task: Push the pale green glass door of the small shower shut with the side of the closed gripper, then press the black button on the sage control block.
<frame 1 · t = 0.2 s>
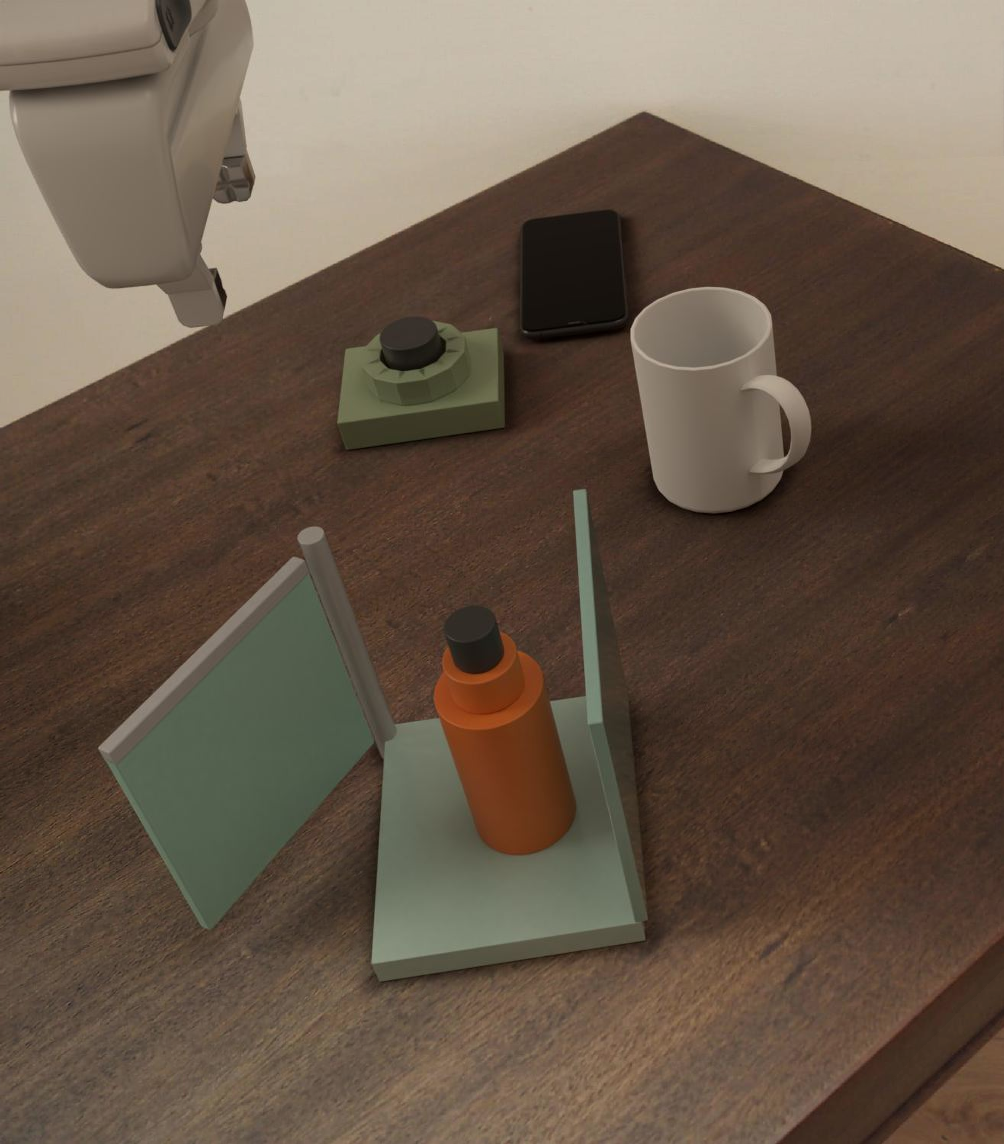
hand: (222, 252, 67), 25 cm above the table, tool pointing down, fingers open, 8 cm apart
shower door: (242, 740, 70), point 8 cm above the table, hinge at 35.0°
smartphone: (573, 279, 110), on the table
control block: (427, 401, 101), on the table
mug: (742, 490, 92), on the table
shampoo bottle: (526, 814, 74), point 1 cm above the table, touching shower
shower: (511, 836, 75), on the table
button: (411, 343, 98), point 4 cm above the table, slide at 0.1 cm
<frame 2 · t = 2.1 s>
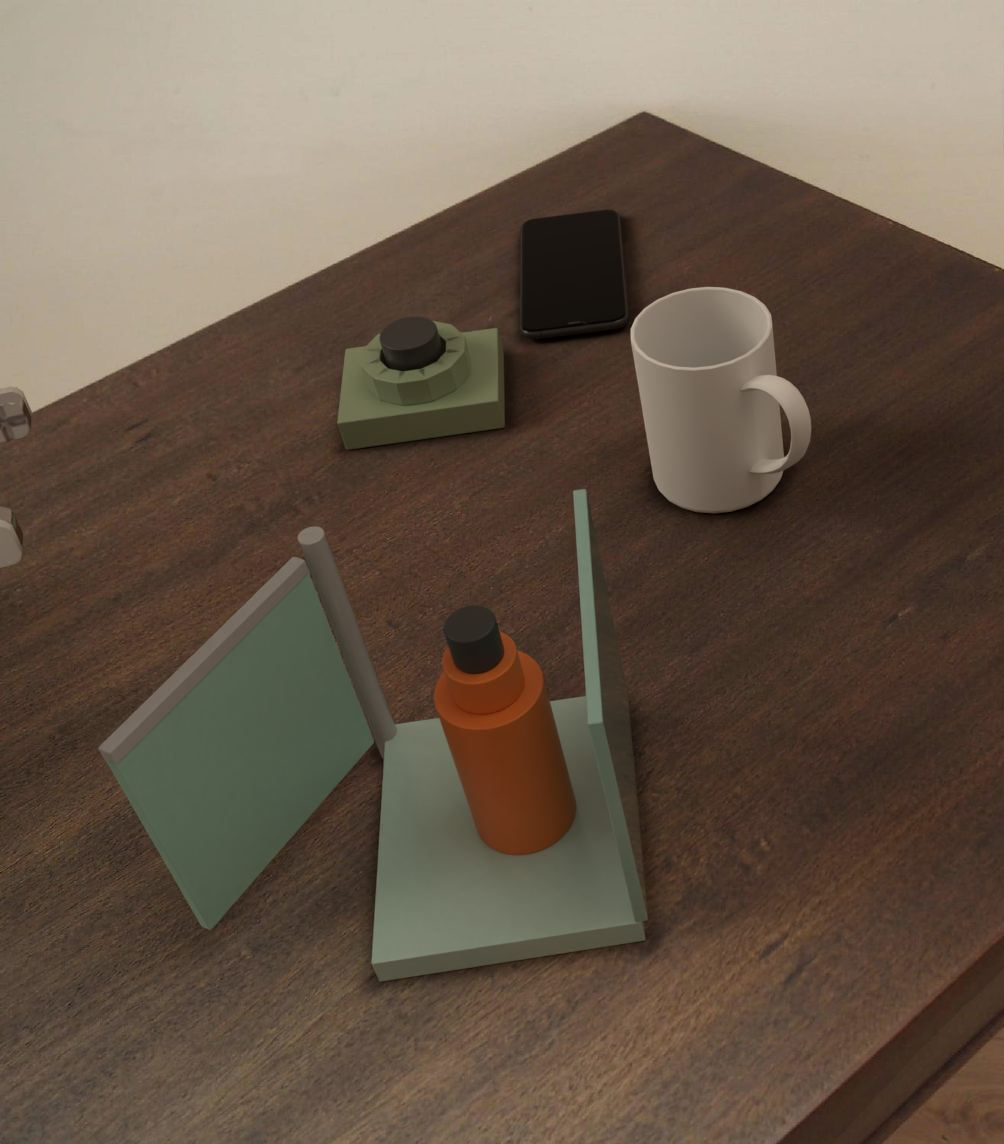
hand: (22, 467, 62), 22 cm above the table, tool horizontal, fingers open, 8 cm apart
nothing on the table moved.
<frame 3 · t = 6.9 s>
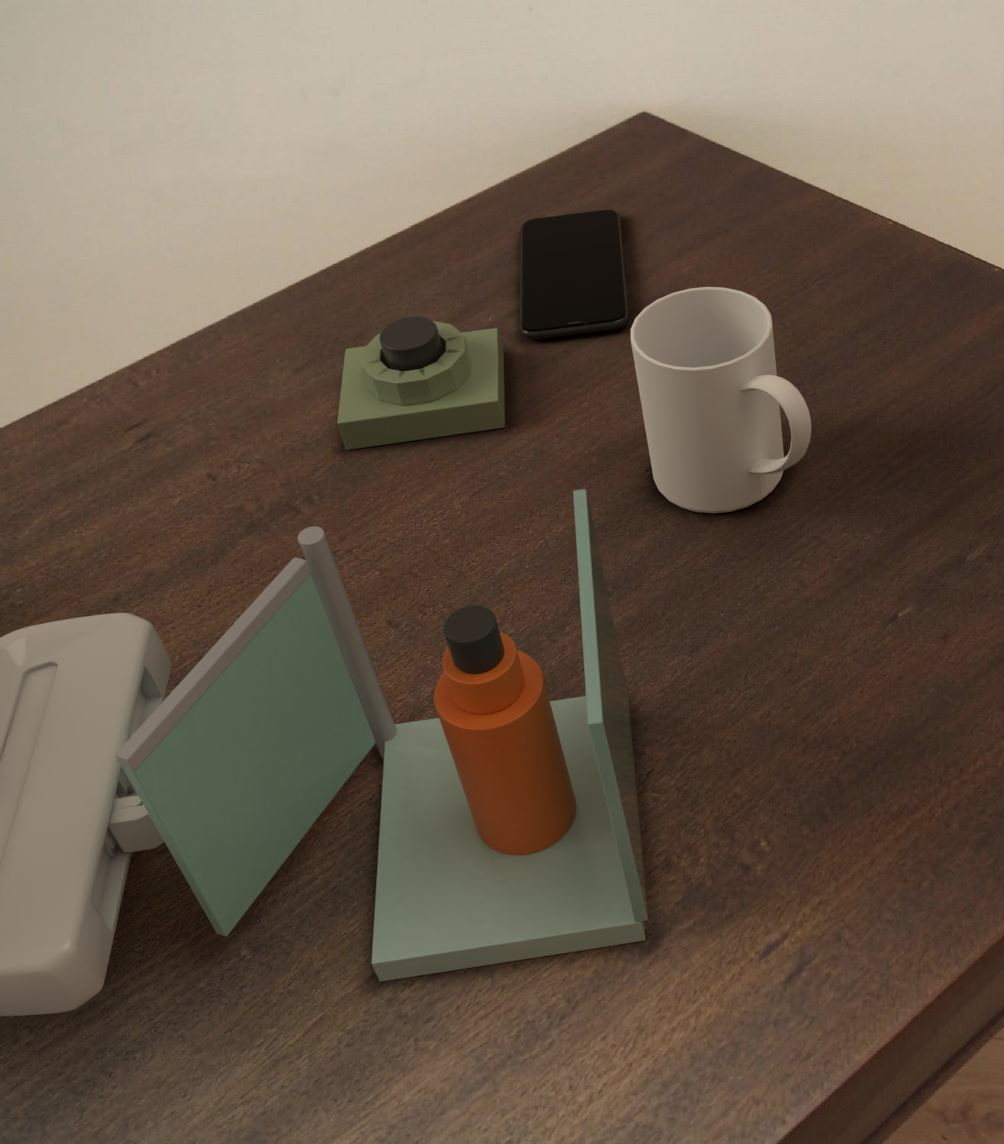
hand: (233, 776, 70), 7 cm above the table, tool horizontal, fingers closed
shower door: (250, 744, 70), point 8 cm above the table, hinge at 30.9°, touching gripper
everything else where it was.
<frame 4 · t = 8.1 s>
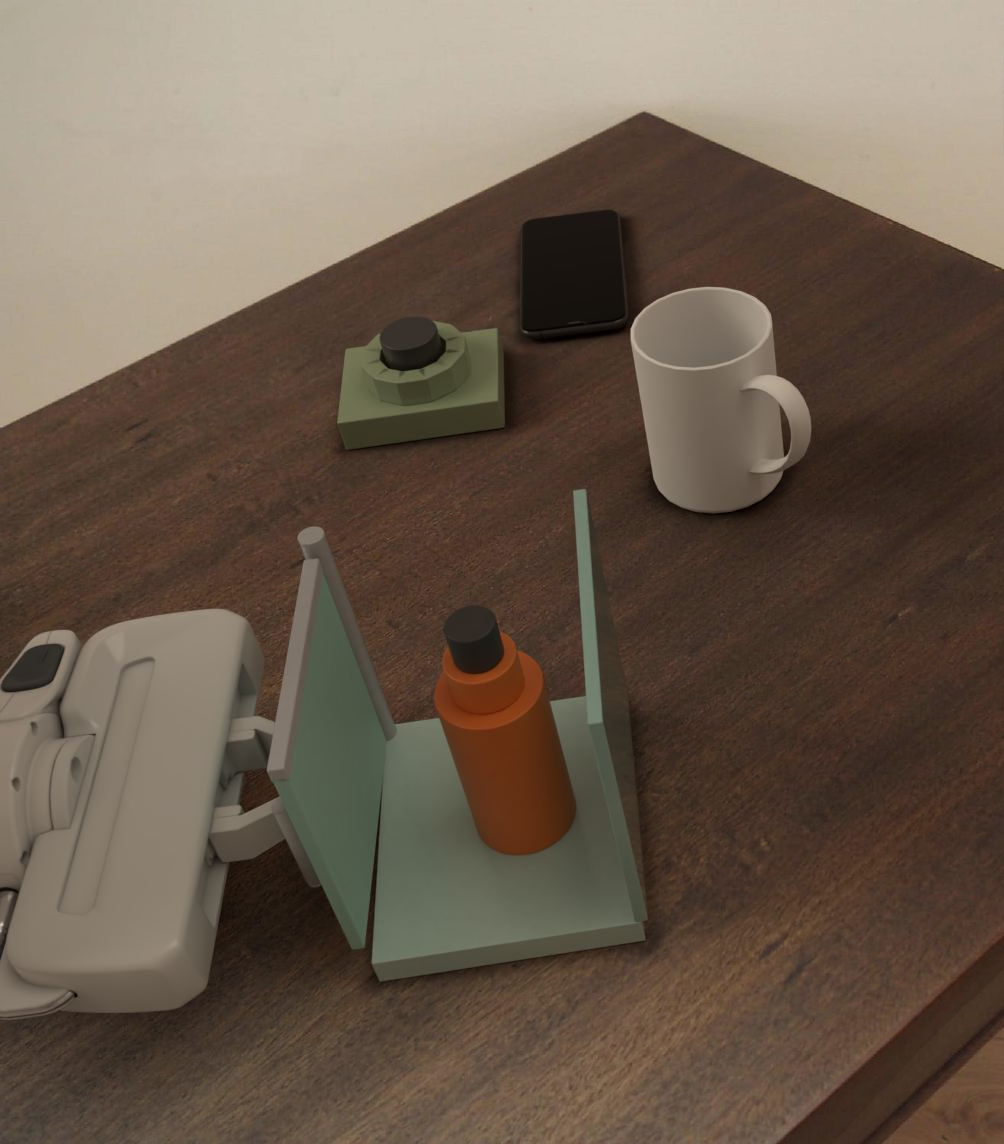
hand: (333, 775, 70), 7 cm above the table, tool horizontal, fingers closed, pressing on shower door
shower door: (321, 755, 69), point 8 cm above the table, hinge at 2.0°, touching gripper
everything else where it was.
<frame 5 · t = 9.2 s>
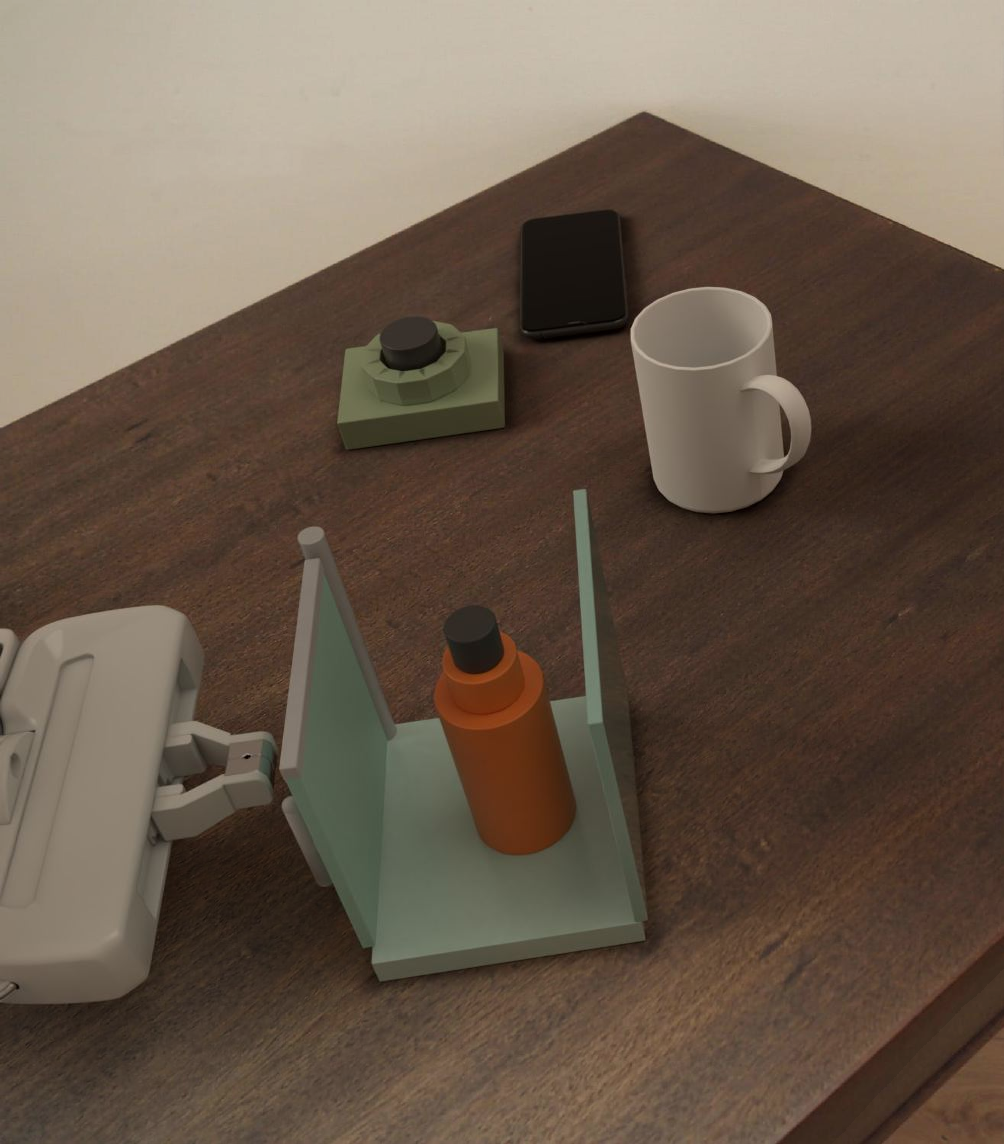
hand: (272, 766, 71), 7 cm above the table, tool horizontal, fingers closed
shower door: (327, 755, 69), point 8 cm above the table, hinge at -0.1°
everything else where it was.
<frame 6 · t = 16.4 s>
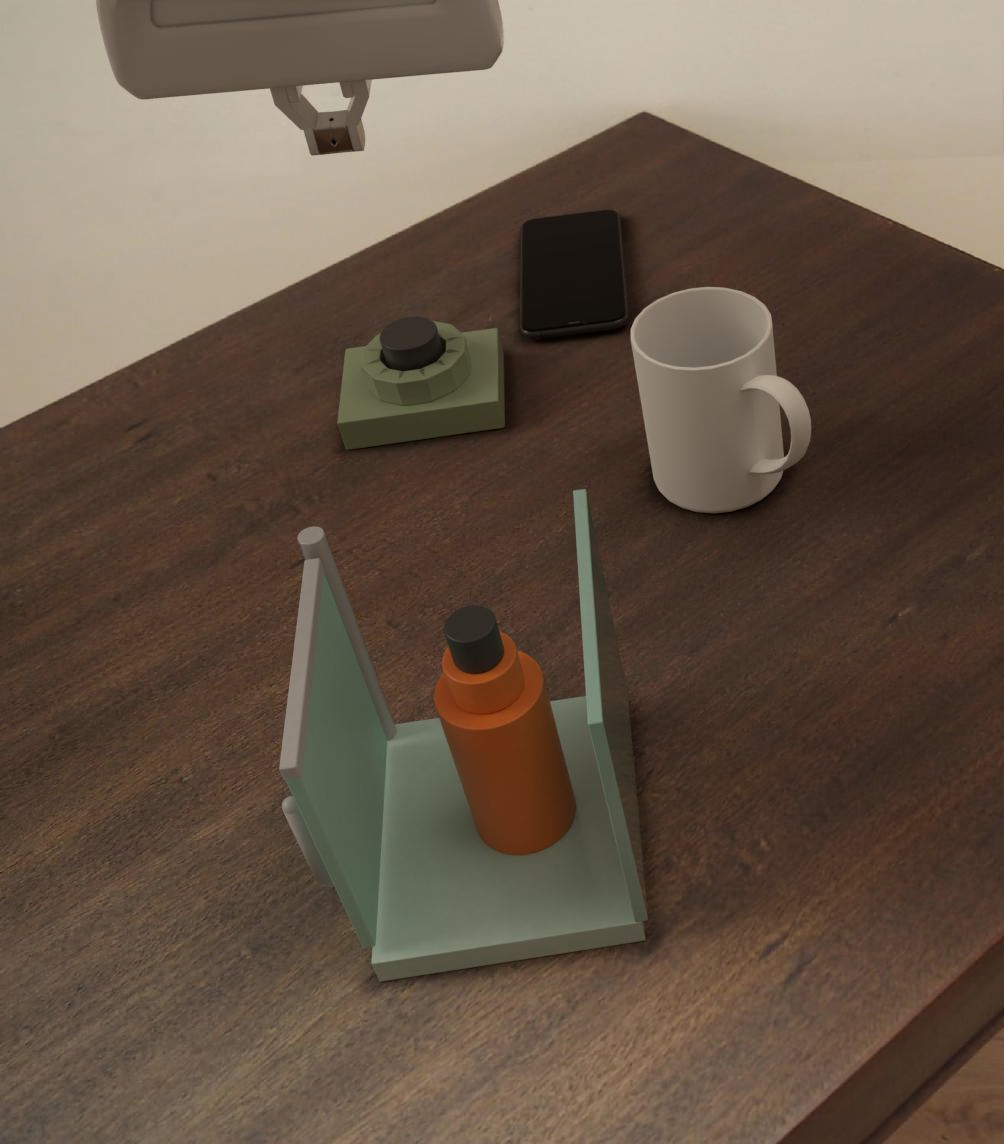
hand: (338, 148, 87), 19 cm above the table, tool pointing down, fingers closed
nothing on the table moved.
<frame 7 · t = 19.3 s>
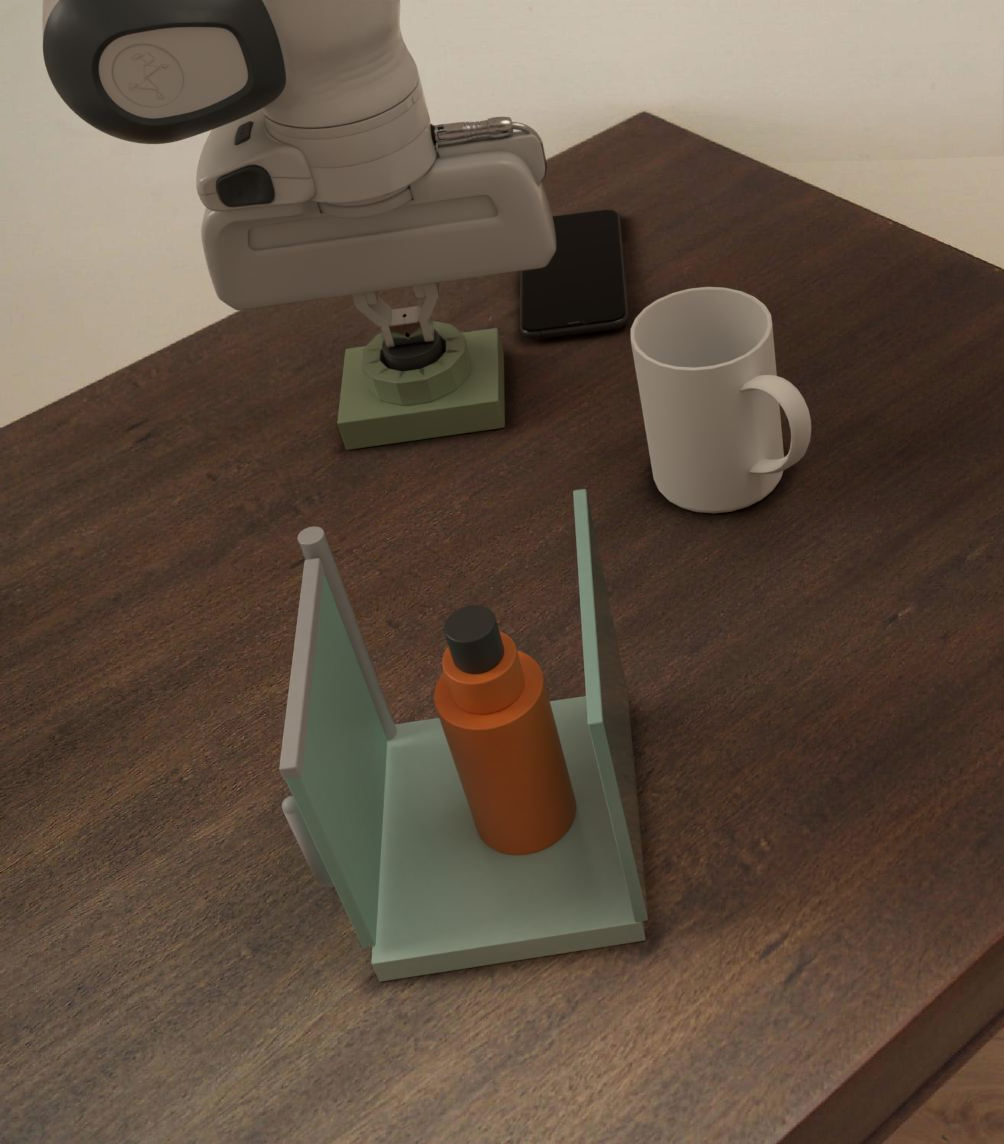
hand: (411, 339, 98), 5 cm above the table, tool pointing down, fingers closed, pressing on button
button: (413, 351, 98), point 4 cm above the table, slide at -0.5 cm, touching gripper
everything else where it was.
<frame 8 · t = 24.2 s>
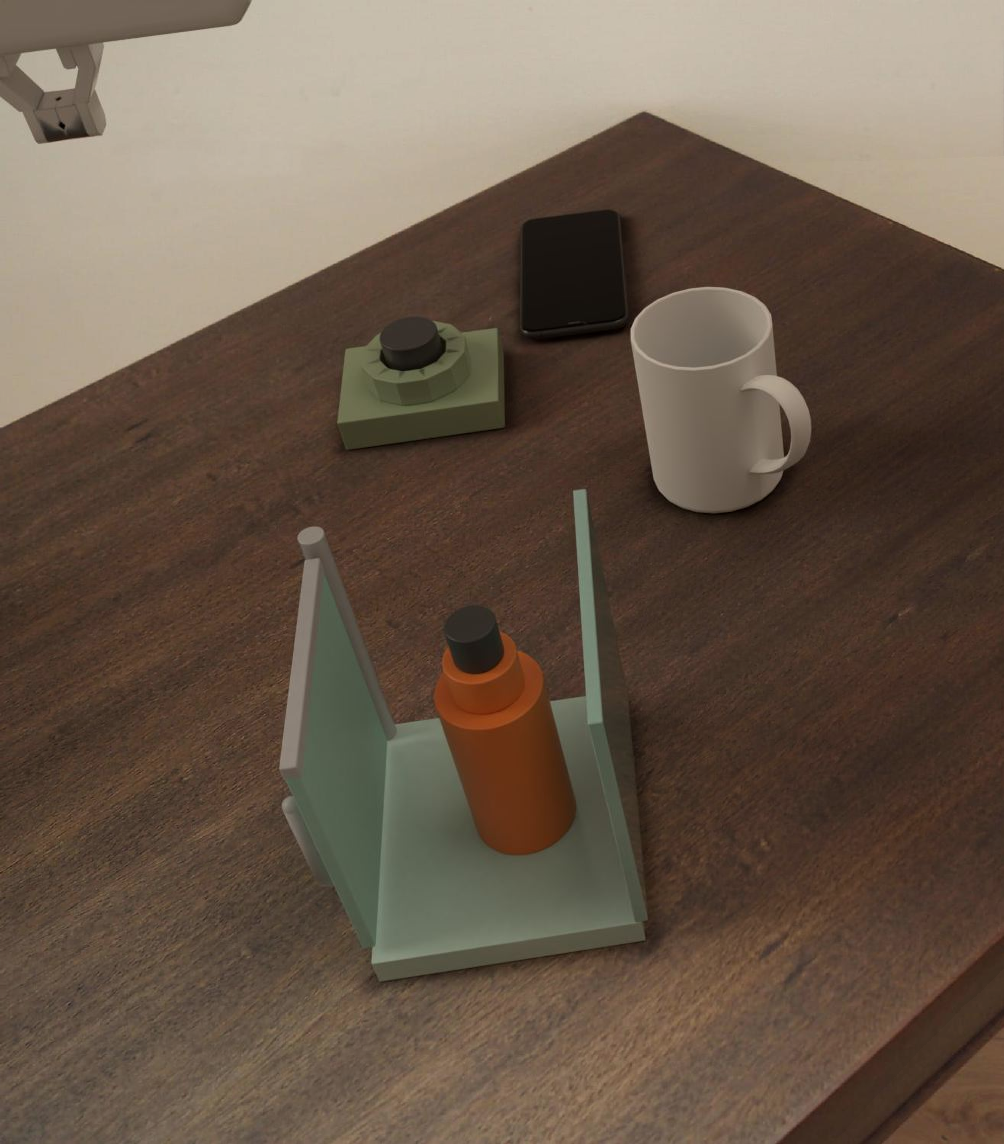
hand: (73, 134, 72), 27 cm above the table, tool pointing down, fingers closed
button: (411, 344, 98), point 4 cm above the table, slide at 0.1 cm
everything else where it was.
at the end: shower door at +0° (first picture: +35°); button pushed in 1.0 cm at the most during the clip, back to where it started at the end; button slide at 0.1 cm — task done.
